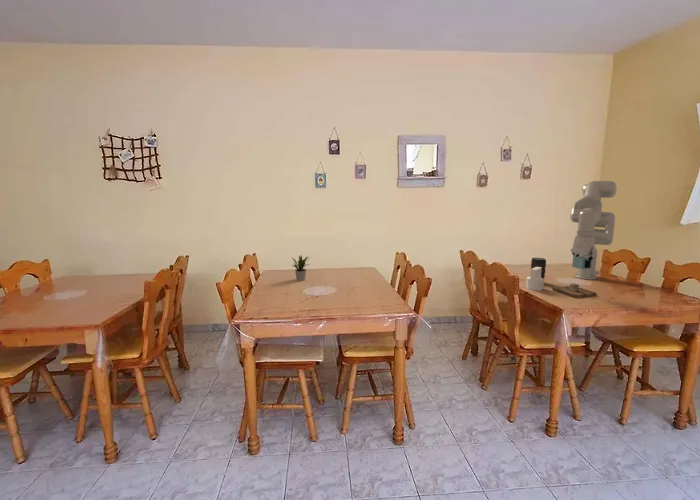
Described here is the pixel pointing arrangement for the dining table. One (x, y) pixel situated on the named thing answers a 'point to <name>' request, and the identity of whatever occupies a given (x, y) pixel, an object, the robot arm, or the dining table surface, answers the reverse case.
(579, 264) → the teal tissue box
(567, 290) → the shaft block
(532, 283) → the light grey stepped block
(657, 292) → the dining table surface
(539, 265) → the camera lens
